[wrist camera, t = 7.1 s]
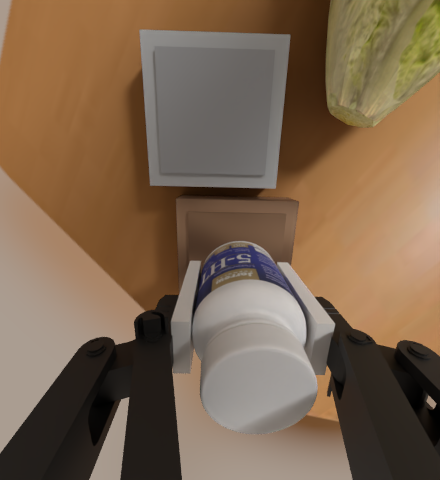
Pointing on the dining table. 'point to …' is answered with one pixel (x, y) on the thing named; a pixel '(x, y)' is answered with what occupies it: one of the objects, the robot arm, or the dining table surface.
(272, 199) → the stand
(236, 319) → the pill bottle
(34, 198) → the dining table surface
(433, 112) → the dining table surface
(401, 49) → the lettuce
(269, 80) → the stand
